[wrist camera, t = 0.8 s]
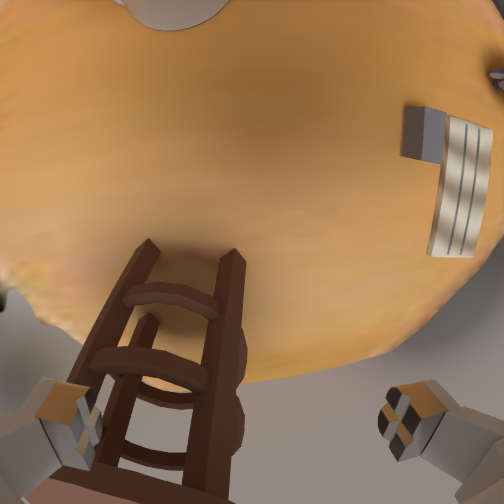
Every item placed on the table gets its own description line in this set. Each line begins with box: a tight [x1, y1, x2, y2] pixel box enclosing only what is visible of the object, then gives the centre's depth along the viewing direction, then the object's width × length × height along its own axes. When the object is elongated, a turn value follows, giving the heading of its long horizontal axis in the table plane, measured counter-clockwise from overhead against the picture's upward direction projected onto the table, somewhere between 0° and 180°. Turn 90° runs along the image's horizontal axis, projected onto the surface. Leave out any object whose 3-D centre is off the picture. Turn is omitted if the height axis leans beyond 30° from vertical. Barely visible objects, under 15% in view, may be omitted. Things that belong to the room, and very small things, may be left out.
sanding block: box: [400, 106, 446, 164], centre depth 35 cm, size 7×4×6 cm, turn 178°
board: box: [426, 116, 493, 258], centre depth 40 cm, size 22×10×2 cm, turn 178°
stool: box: [23, 238, 247, 504], centre depth 29 cm, size 20×35×20 cm
